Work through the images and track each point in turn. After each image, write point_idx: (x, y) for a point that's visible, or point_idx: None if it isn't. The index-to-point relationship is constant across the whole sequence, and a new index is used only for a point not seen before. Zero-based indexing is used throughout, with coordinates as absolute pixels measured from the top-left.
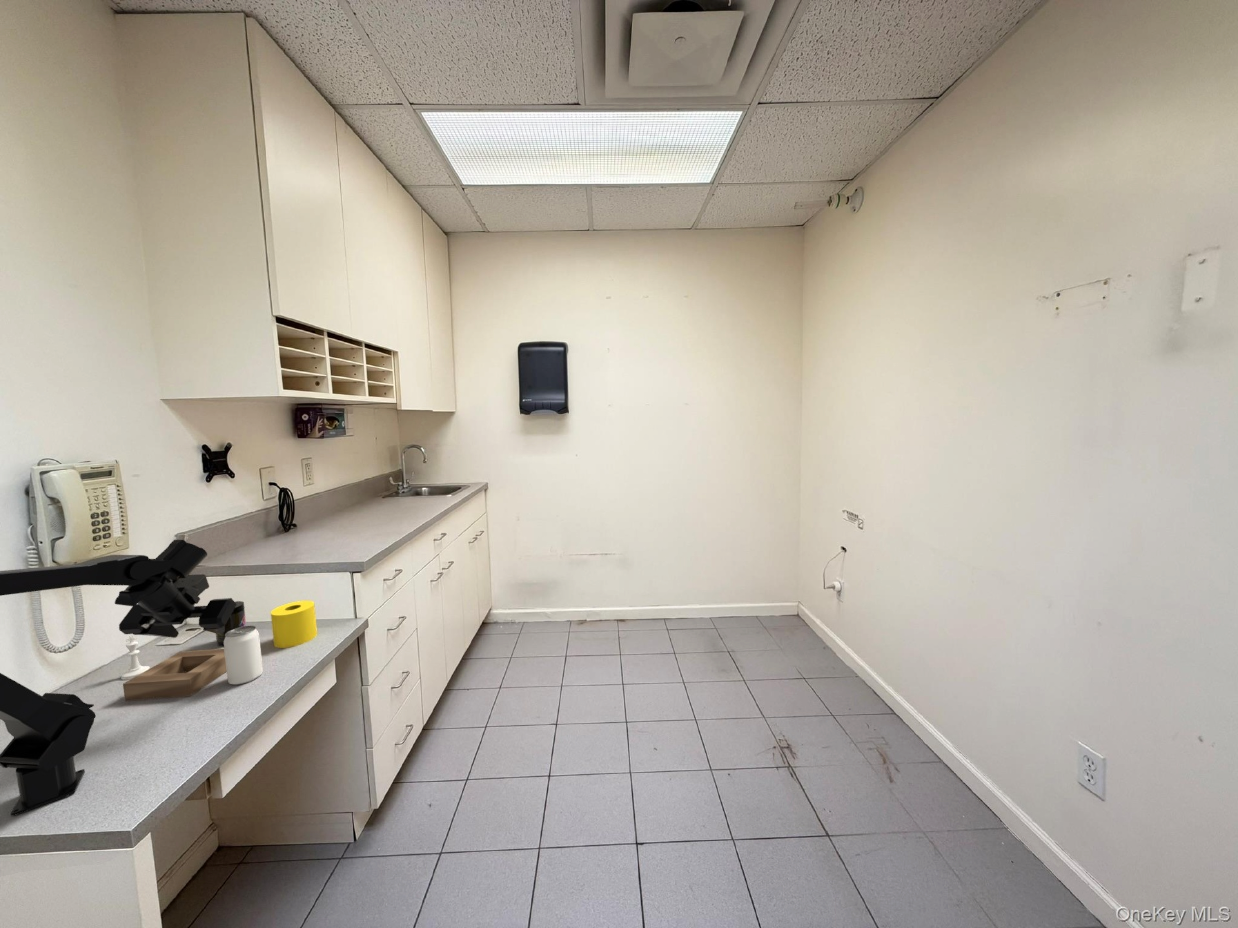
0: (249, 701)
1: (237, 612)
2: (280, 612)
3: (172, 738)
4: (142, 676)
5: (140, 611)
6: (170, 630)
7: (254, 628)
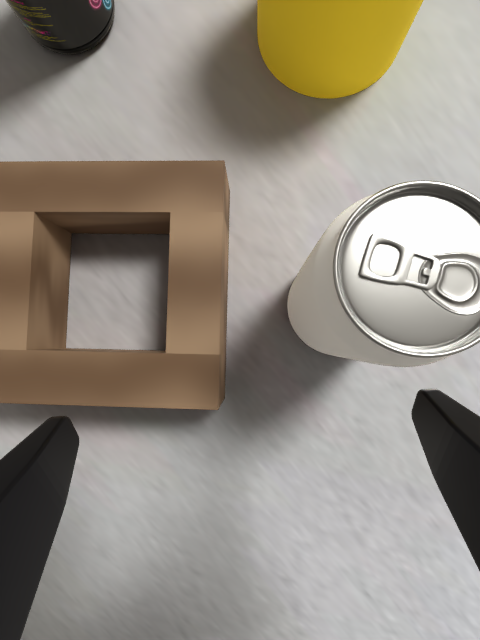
0: None
1: None
2: None
3: (357, 636)
4: (2, 355)
5: None
6: (21, 529)
7: (473, 214)
